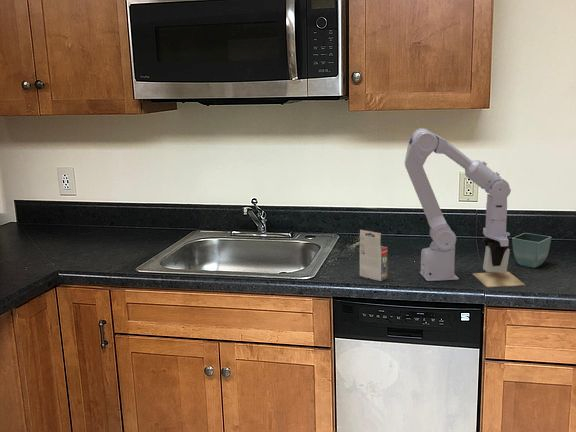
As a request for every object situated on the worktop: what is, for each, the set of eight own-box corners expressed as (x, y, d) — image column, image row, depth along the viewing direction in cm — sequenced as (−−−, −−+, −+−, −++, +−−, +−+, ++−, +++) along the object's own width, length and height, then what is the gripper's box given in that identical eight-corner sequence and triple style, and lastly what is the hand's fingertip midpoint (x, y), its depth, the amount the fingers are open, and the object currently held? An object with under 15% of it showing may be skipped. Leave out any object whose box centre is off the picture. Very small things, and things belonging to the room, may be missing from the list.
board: (486, 287, 184) (487, 286, 184) (472, 274, 196) (472, 273, 196) (525, 285, 185) (525, 284, 185) (508, 272, 196) (508, 271, 196)
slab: (486, 271, 192) (489, 248, 190) (482, 268, 194) (486, 245, 193) (506, 272, 192) (509, 249, 191) (502, 269, 195) (505, 247, 193)
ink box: (366, 273, 199) (366, 226, 196) (388, 278, 194) (388, 230, 191) (359, 276, 197) (358, 229, 194) (380, 282, 191) (381, 233, 188)
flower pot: (509, 265, 203) (511, 237, 201) (523, 259, 209) (524, 232, 207) (537, 271, 197) (539, 242, 195) (550, 264, 203) (552, 236, 201)
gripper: (520, 223, 183) (517, 270, 186) (500, 212, 197) (498, 256, 200) (495, 225, 183) (493, 271, 186) (477, 213, 197) (475, 257, 200)
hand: (494, 263), depth 193 cm, fingers closed on slab, 3 cm apart
